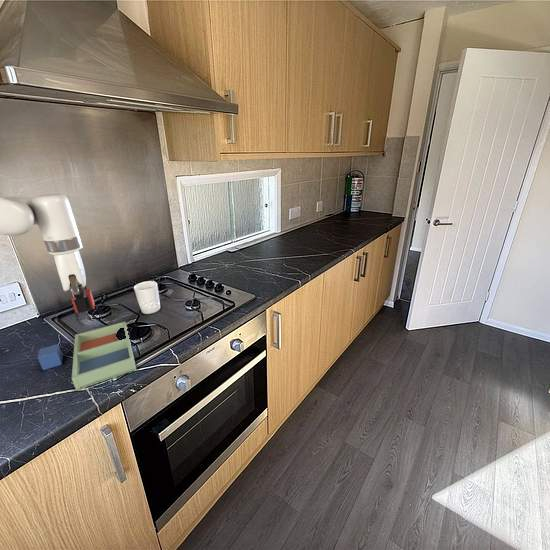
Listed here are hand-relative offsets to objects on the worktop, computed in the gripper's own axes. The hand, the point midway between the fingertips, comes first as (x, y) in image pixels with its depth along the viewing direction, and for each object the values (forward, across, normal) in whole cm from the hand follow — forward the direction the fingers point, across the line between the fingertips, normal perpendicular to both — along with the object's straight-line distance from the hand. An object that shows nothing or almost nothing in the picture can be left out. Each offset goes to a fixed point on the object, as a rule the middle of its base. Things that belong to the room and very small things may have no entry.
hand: (85, 306), depth 82 cm
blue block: (+15, -1, -12) cm, 19 cm away
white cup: (+15, -18, +17) cm, 29 cm away
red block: (0, 0, 0) cm, 0 cm away
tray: (+15, +4, +1) cm, 16 cm away
